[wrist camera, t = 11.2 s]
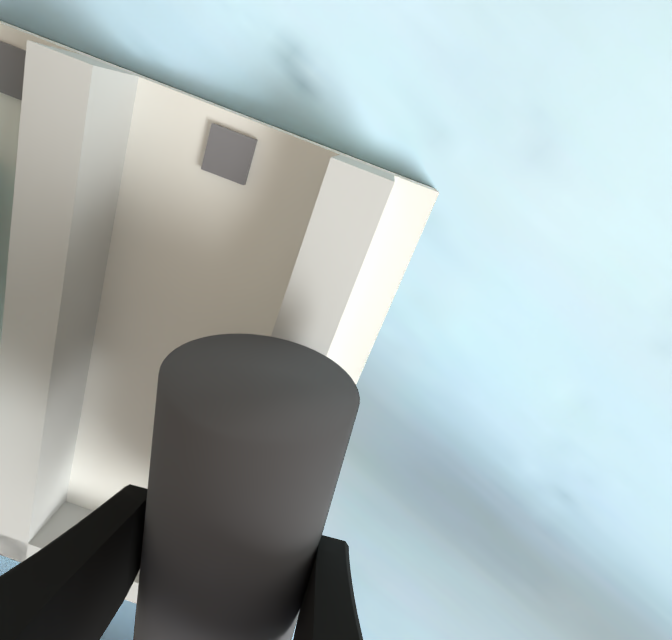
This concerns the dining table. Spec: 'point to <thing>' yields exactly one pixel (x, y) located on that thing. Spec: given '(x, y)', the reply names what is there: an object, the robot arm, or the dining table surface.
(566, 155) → the dining table surface
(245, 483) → the grey rounded cylinder
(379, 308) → the comb rack
